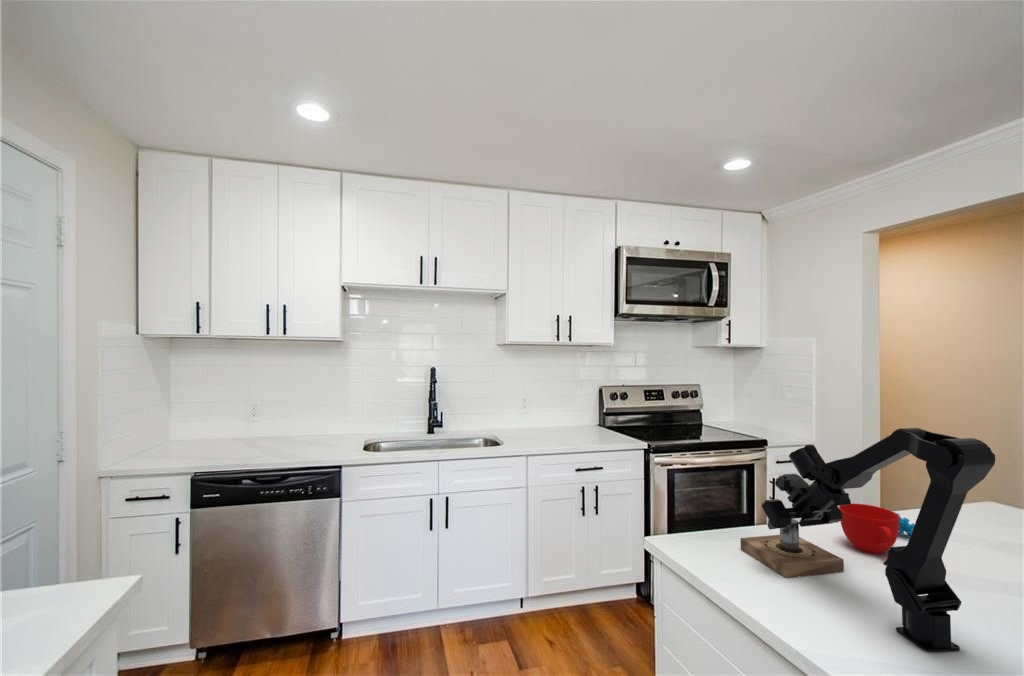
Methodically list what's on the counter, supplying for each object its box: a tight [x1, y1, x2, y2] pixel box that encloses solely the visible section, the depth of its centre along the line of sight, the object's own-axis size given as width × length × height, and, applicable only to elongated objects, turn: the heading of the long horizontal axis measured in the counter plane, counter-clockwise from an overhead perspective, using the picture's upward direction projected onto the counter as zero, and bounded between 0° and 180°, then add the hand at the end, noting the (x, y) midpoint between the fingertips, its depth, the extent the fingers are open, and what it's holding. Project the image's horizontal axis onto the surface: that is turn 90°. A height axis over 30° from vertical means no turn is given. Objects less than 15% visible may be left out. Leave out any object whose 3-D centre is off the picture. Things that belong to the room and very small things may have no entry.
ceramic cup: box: [838, 503, 900, 555], centre depth 122 cm, size 13×17×10 cm
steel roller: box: [779, 519, 800, 553], centre depth 118 cm, size 4×4×10 cm
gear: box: [893, 511, 915, 536], centre depth 133 cm, size 11×6×10 cm
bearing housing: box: [740, 534, 845, 579], centre depth 118 cm, size 16×16×3 cm
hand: (784, 526), depth 120 cm, fingers open, 9 cm apart
